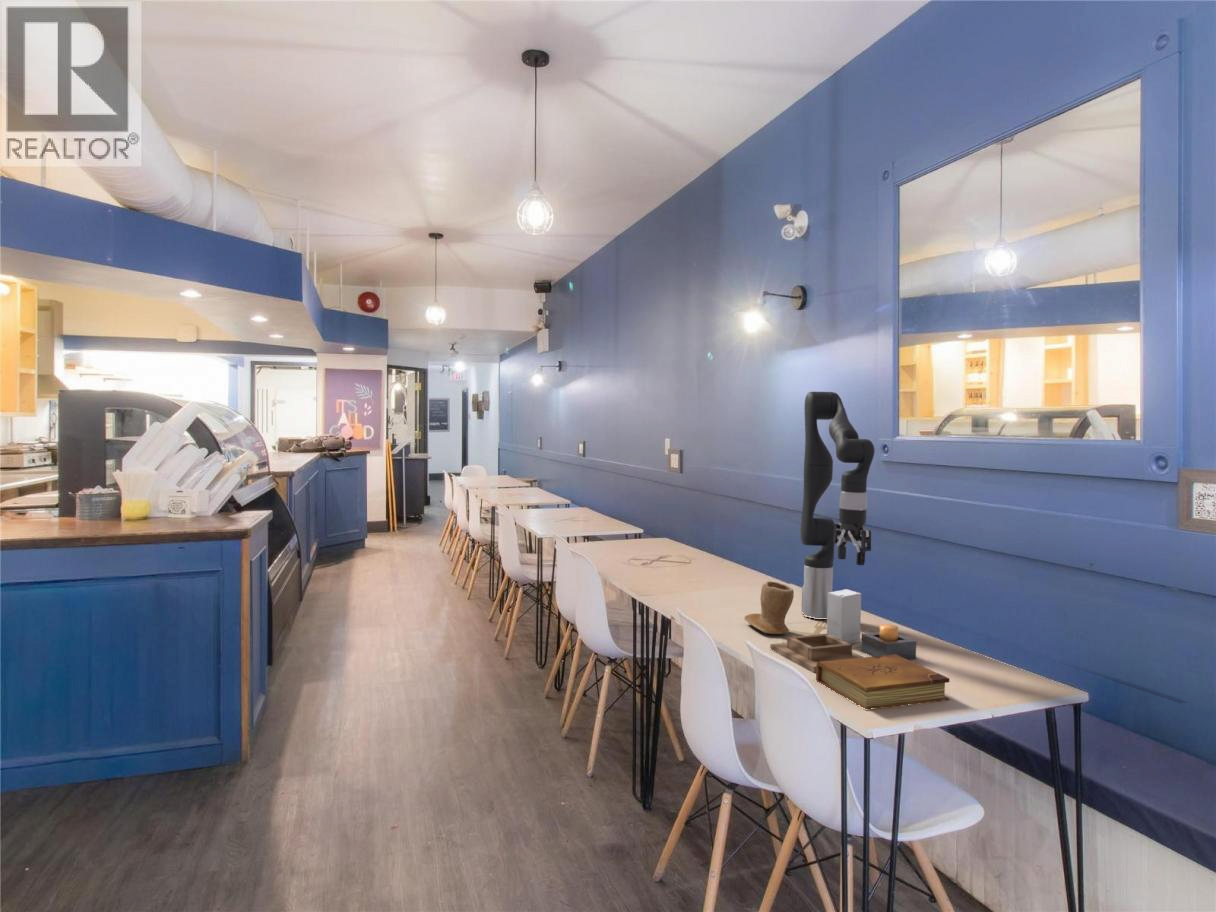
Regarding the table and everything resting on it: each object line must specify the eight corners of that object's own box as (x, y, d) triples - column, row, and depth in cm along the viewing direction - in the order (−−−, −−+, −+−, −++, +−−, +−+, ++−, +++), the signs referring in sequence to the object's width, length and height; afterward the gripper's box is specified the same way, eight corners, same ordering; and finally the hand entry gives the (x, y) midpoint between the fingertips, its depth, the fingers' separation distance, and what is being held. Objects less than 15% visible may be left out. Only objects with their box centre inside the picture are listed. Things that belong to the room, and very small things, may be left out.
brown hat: (799, 636, 210) (800, 587, 209) (762, 637, 207) (763, 588, 207) (777, 622, 225) (778, 576, 224) (742, 624, 222) (744, 577, 222)
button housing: (861, 651, 196) (861, 633, 196) (889, 648, 199) (890, 631, 199) (886, 662, 186) (886, 644, 186) (915, 659, 190) (916, 641, 190)
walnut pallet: (770, 649, 196) (770, 633, 196) (823, 643, 202) (823, 628, 202) (813, 672, 177) (814, 655, 177) (870, 665, 183) (871, 649, 183)
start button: (875, 639, 194) (875, 625, 194) (889, 637, 196) (889, 623, 196) (887, 644, 190) (888, 629, 189) (901, 642, 191) (902, 628, 191)
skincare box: (845, 637, 209) (846, 588, 209) (861, 642, 204) (862, 592, 204) (825, 641, 205) (826, 591, 205) (841, 646, 200) (842, 595, 199)
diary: (892, 675, 178) (893, 653, 178) (948, 703, 160) (949, 678, 160) (815, 682, 171) (816, 659, 171) (865, 712, 154) (865, 686, 153)
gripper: (827, 504, 208) (825, 557, 209) (857, 510, 194) (855, 567, 195) (848, 503, 210) (846, 556, 211) (880, 510, 197) (877, 566, 198)
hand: (850, 562), depth 203 cm, fingers open, 8 cm apart
